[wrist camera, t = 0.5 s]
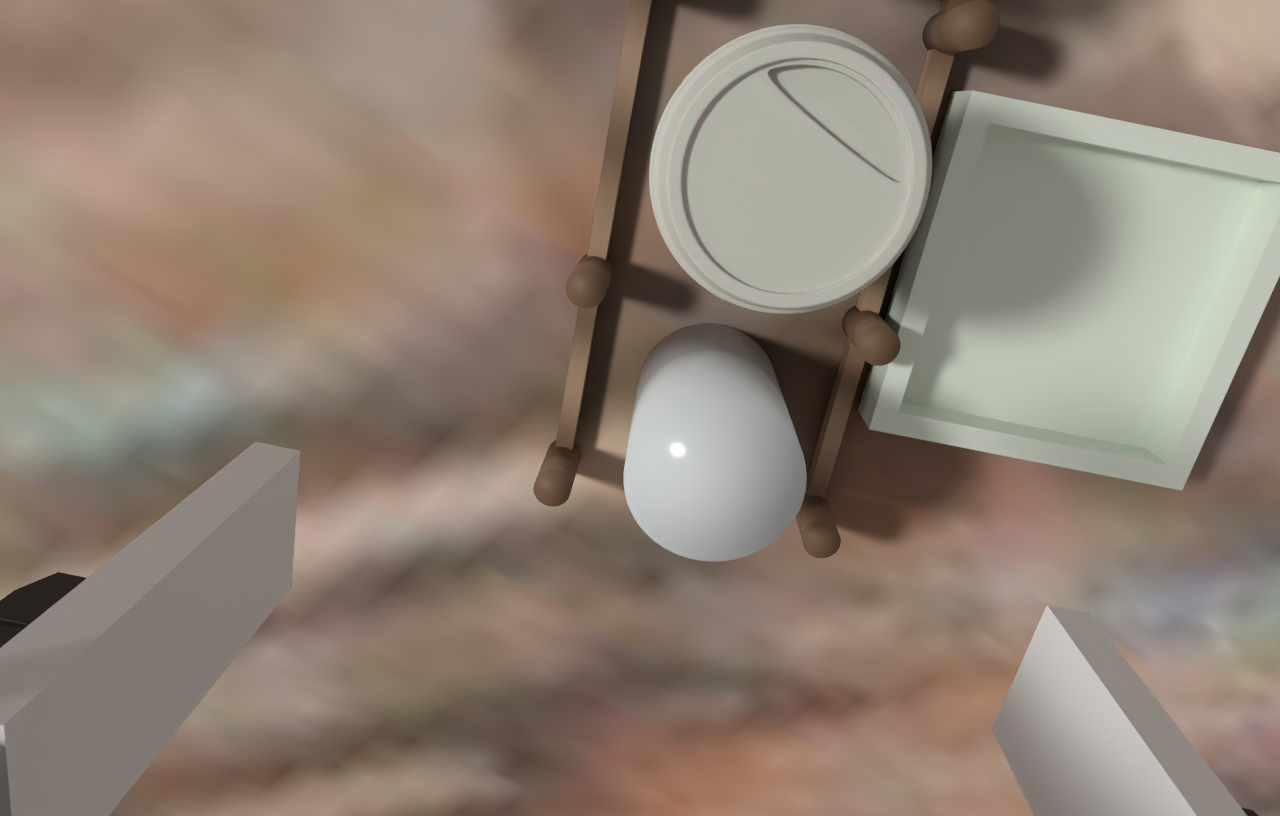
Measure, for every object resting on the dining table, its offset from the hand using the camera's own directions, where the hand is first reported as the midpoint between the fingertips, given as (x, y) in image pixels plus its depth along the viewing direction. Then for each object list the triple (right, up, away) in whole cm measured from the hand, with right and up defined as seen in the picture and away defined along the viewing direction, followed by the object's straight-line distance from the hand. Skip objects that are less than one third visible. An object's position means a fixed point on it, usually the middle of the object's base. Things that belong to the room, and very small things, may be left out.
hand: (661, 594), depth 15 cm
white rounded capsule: (+3, +4, +24) cm, 25 cm away
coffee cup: (+5, +14, +21) cm, 25 cm away
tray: (+18, +8, +22) cm, 29 cm away
